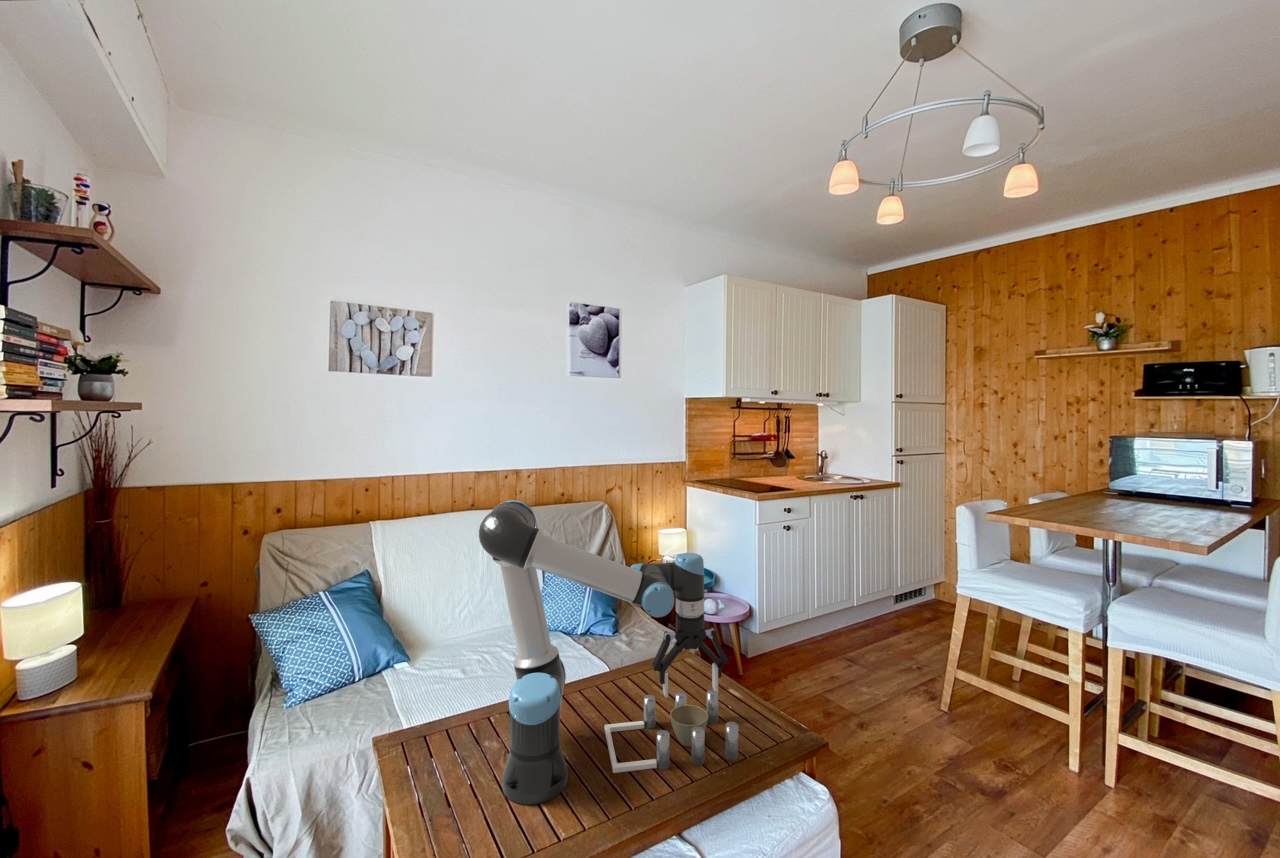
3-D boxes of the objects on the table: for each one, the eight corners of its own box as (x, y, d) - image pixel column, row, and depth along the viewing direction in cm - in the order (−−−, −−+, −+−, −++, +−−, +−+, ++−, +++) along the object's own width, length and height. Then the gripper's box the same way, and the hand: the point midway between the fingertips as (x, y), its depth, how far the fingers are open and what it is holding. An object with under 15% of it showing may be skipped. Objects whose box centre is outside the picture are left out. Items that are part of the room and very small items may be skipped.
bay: (613, 772, 131) (613, 768, 131) (604, 729, 149) (604, 724, 149) (656, 767, 133) (656, 763, 133) (643, 725, 151) (643, 720, 151)
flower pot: (715, 740, 144) (715, 714, 144) (692, 758, 137) (692, 730, 136) (685, 725, 151) (685, 700, 151) (662, 741, 143) (662, 715, 143)
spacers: (657, 770, 132) (658, 738, 132) (642, 722, 152) (642, 695, 151) (740, 760, 136) (740, 729, 135) (715, 715, 156) (715, 688, 155)
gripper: (646, 622, 136) (647, 704, 137) (740, 614, 141) (740, 694, 142) (640, 611, 144) (641, 689, 145) (730, 604, 148) (730, 680, 149)
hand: (690, 692), depth 143 cm, fingers open, 13 cm apart
